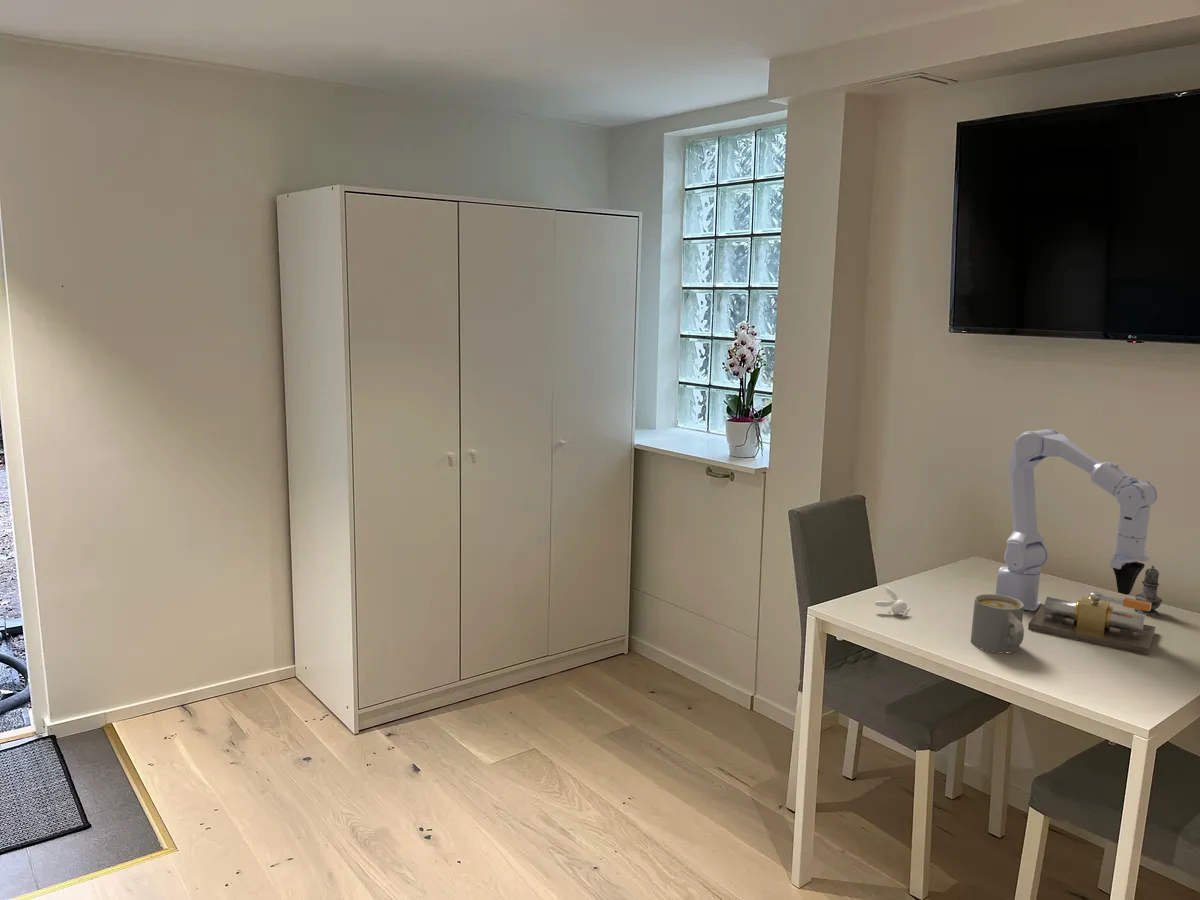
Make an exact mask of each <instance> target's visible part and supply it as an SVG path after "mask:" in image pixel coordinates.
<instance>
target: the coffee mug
mask: <svg viewBox="0 0 1200 900" xmlns="http://www.w3.org/2000/svg"><path fill="white" fill-rule="evenodd" d="M1024 611H1025V610H1024V604H1023V603H1022V602H1021V601H1019V600H1017V599H1015V598H1012V597H1008V596H1004V595H997V594H996V593H983V594H978V595H977V596H975V597H974V603H973V612H972V613H973V614H972V624H971V632H970V633H971V635H970V643H971V644H972V645H973V646H974V645H975V646H974V647H976V648H978V649H980V648H982V649H984V650H983V651H986V650H988V651H987V652H989V651H994V652H1003V653H1002V654H1007V653H1006V652H1014V653H1016V652H1015V651H1017V650H1018V651H1019V650H1020V645H1021V644H1022V643H1023V640H1024V637H1025V636H1024V635H1025V629H1024V624H1023V619H1024ZM982 649H981V650H982ZM1018 651H1017V652H1018ZM994 652H993V653H994Z"/></svg>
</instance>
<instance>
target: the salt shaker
mask: <svg viewBox="0 0 1200 900" xmlns="http://www.w3.org/2000/svg"><path fill="white" fill-rule="evenodd" d="M1159 576H1160V572H1159V571H1158V570H1157V569H1156V568H1155V566H1154V564H1153V565H1151V567H1150V568H1147V569H1145V572H1144V580H1143V581H1141V583H1142V590H1141V592H1140V593H1138V594H1136V595H1134V599H1136V600H1141V601H1146V602H1151V603H1152V604H1151V610H1150V611H1144V610H1139V609H1134V611H1135V612H1136V613H1137V612H1139V613H1138V614H1140V613H1142V614H1141V615H1143V614H1146V615H1145V616H1148V615H1158V610H1156V609H1159V607H1160V606H1161V604H1162V603H1163V599H1162V598H1160V597H1159V596H1158V586H1160V584H1159V583H1158V582H1159ZM1158 616H1159V615H1158Z"/></svg>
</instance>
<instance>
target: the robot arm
mask: <svg viewBox="0 0 1200 900" xmlns="http://www.w3.org/2000/svg"><path fill="white" fill-rule="evenodd" d="M1013 447H1014V448H1013V449H1012V452H1011V454H1010V457H1009V459H1008V474H1009V491H1010V506H1011V518H1012V519H1011V523H1012V524H1011V525H1012V533H1011V534H1010V535H1009V537H1008V539H1007V540H1006V549H1005V551H1004V554H1003V559H1004V563H1005V565H1006V566H1000V567H999V570H998V571H997V572H998V573H997V576H996V577H997V578H996V579H997V580H996V586H995V587H996V588H995V594H997V595H1004V596H1008V597H1012V598H1015V599H1017V600H1019V601H1021V602H1022V603H1023V604H1024V610H1023V611H1031V612H1037V611H1038V610H1037V609H1039V608H1040V606H1041V605H1042V601H1041V600H1038V597H1039V589H1040V583H1041V582H1040V581H1041V580H1040V579H1041V571H1042V567H1043V566H1044V565H1045V564H1046V563H1047V561H1048V559H1049V551H1048V549H1047V547H1046V546H1045V543H1044V536H1043V535H1041V533H1040V532H1039V530H1038V523H1037V507H1036V490H1035V487H1036V486H1035V474H1034V473H1035V472H1034V470H1035V469H1034V468H1035V467H1036V466H1037V465H1038V464H1040V462H1042V461H1043V460H1044V459H1046V458H1048V457H1056V458H1057V457H1059V458H1061V459H1063V460H1065V461H1066V462H1068V463H1070V464H1072V465H1074V466H1075V467H1077V468H1079V469H1080V470H1082V471H1084V472H1085V473H1088V474H1089V475H1090V479H1091V482H1092V483H1093V484H1095V486H1098V487H1099V488H1101V489H1102V490H1104V491H1106V492H1107V493H1108V494H1110V496H1111V495H1112V496H1113V497H1115V498H1116V501H1117V504H1119V506H1120V508H1119V509H1120V510H1119V519H1118V526H1117V534H1116V538H1115V539H1116V540H1115V546H1114V547H1115V548H1114V551H1113V554H1112V558H1111V559H1110V563H1109V564H1110V566H1109V567H1110V568H1112V570H1113V573H1114V576H1115V581H1116V588H1117V593H1119V594H1122V595H1127V596H1128V595H1130V594H1131V593H1132V591H1133V588H1134V584H1135V583H1136V580H1137V578H1138V577H1139V574H1140V573H1141V572H1142V570H1143V569H1144V568H1145V563H1147V562H1150V558H1151V557H1148V556H1147V549H1146V542H1147V536H1148V529H1149V523H1150V522H1149V521H1150V515H1151V506H1152V505H1154V504H1155V502H1156V501H1157V499H1158V491H1157V489H1156V487H1155V486H1154V485H1153V484H1151V482H1150V481H1148V480H1138V477H1137V476H1135V475H1131V474H1129V473H1128V472H1126V471H1124V470H1123V469H1121V468H1119V466H1120V465H1119V464H1118V463H1117V462H1110V461H1104V462H1100V461H1099V460H1098V459H1096V458H1094V457H1093V456H1092V455H1091V454H1089V453H1087V452H1086V451H1085V450H1083V449H1082V448H1081V447H1079V445H1076V444H1075V443H1073V442H1072V441H1071V440H1069V438H1068V437H1067V436H1066V435H1064V434H1062V433H1060V432H1058V431H1057V430H1056V429H1054V428H1045V429H1039V430H1034V431H1032V430H1031V431H1030V430H1027V431H1024V432H1022V433H1021V434H1020V435H1018V436H1017V437H1015V439H1014V440H1013ZM1142 562H1145V563H1142Z"/></svg>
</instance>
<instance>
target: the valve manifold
mask: <svg viewBox="0 0 1200 900" xmlns="http://www.w3.org/2000/svg"><path fill="white" fill-rule="evenodd" d="M1145 617H1146V615H1143V614H1139V613H1137V614H1136V613H1133V612H1132V613H1131V612H1127V611H1123V610H1122V611H1121V610H1117V609H1114V607H1113V606H1112V605H1111V602H1107V601H1102V600H1100V601H1097V600H1092V599H1089V598H1087V597H1082V598H1081V600H1079V599H1078V600H1076V601H1072V600H1071V601H1070V600H1065V599H1060V598H1055V597H1049V596H1046V598H1045V602H1044V603H1041V605H1040V606H1039V607H1038V610H1036V611H1035V614H1034V615H1033V617H1032V618H1031V619H1030V620H1029V622H1028V627H1027V630H1029V629H1031V630H1030V631H1034V630H1036V631H1035V632H1039V631H1040V633H1043V632H1045V633H1044V634H1048V633H1050V634H1049V635H1053V634H1055V635H1054V636H1057V635H1059V636H1058V637H1062V636H1063V638H1067V637H1068V638H1067V639H1071V640H1076V639H1077V641H1081V642H1086V643H1090V644H1094V643H1095V645H1098V646H1099V645H1100V646H1105V647H1108V648H1114V649H1118V650H1122V651H1123V650H1124V651H1128V652H1133V653H1136V654H1141V655H1145V656H1148V654H1149V651H1150V649H1151V646H1152V642H1153V639H1154V636H1155V633H1156V626H1153V625H1149V624H1145Z"/></svg>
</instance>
